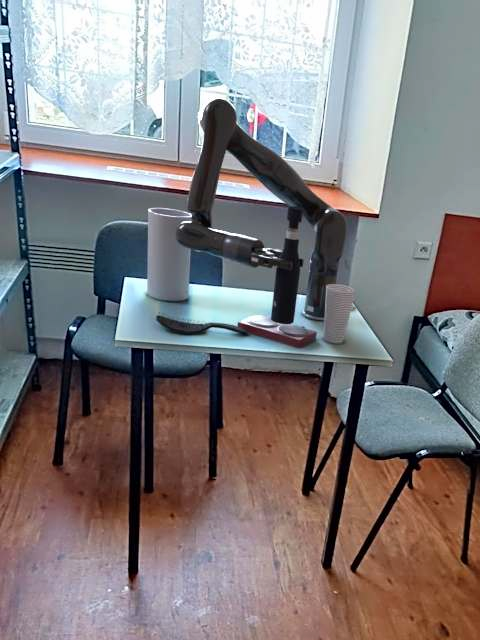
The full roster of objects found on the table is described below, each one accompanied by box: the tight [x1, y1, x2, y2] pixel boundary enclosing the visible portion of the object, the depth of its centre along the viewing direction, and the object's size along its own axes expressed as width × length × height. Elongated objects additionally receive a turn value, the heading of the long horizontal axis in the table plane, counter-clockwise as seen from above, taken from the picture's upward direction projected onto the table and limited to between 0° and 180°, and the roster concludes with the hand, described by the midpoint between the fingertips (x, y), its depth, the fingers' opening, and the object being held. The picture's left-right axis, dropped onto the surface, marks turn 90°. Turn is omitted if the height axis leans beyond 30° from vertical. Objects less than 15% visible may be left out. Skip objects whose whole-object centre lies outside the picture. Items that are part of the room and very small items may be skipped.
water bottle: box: [270, 205, 303, 325], centre depth 177 cm, size 6×6×30 cm
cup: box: [322, 283, 356, 344], centre depth 191 cm, size 8×8×16 cm
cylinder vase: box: [146, 207, 192, 302], centre depth 200 cm, size 12×12×25 cm
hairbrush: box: [155, 311, 249, 336], centre depth 182 cm, size 8×4×25 cm
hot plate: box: [237, 314, 318, 348], centre depth 190 cm, size 12×20×3 cm, turn 66°
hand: (297, 264), depth 176 cm, fingers closed on water bottle, 6 cm apart
